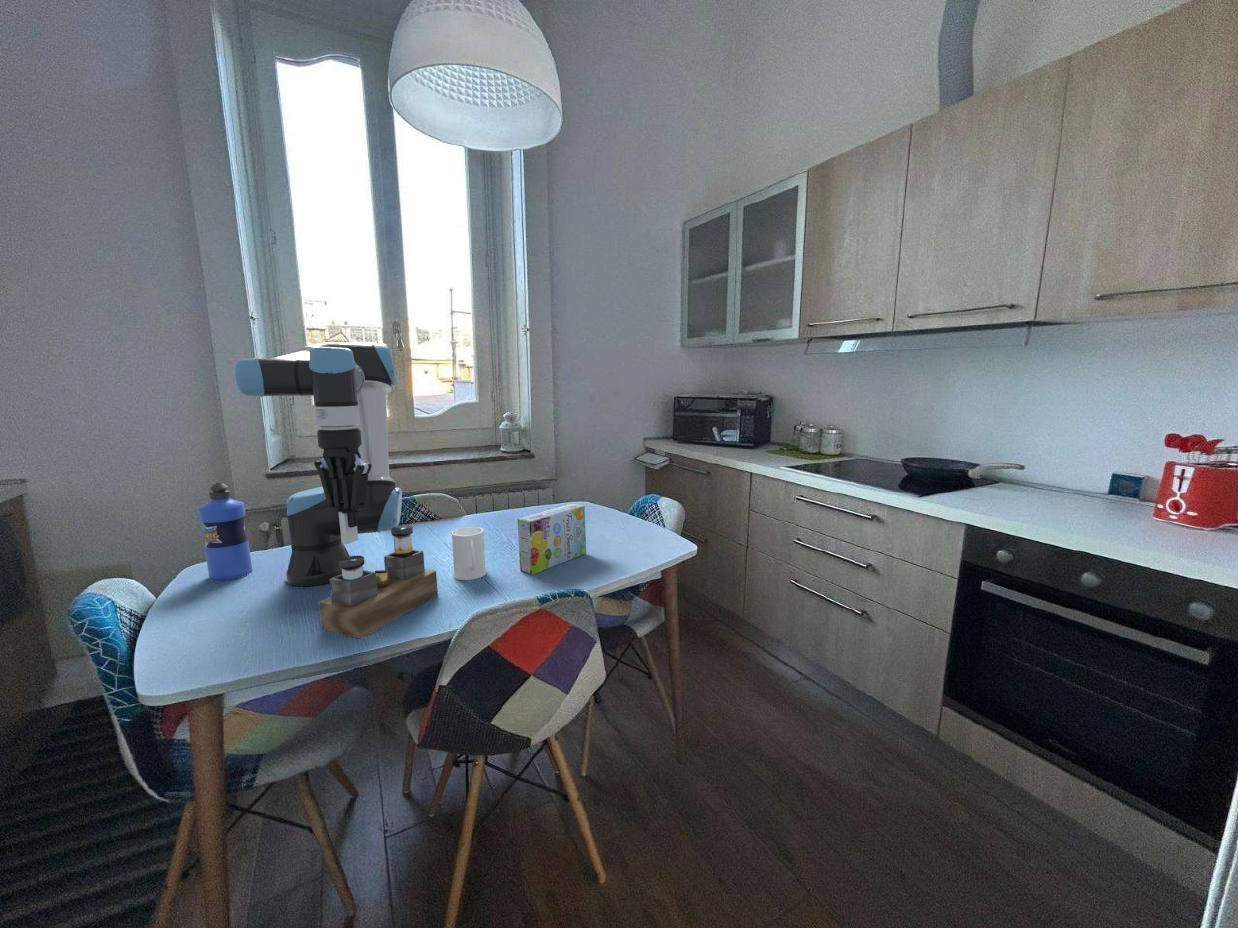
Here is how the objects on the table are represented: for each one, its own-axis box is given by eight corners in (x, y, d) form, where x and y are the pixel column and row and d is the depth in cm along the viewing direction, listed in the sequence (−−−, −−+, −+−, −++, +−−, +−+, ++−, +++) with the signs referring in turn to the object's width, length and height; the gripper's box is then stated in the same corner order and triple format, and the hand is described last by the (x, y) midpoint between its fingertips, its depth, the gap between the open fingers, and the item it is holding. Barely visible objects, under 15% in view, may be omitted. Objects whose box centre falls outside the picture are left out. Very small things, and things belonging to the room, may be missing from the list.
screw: (371, 588, 106) (370, 573, 106) (378, 582, 109) (377, 568, 109) (385, 588, 106) (384, 573, 106) (391, 582, 109) (390, 568, 109)
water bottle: (224, 583, 123) (210, 488, 119) (199, 578, 126) (185, 485, 122) (261, 570, 132) (249, 481, 128) (237, 566, 135) (225, 478, 131)
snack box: (573, 550, 148) (572, 502, 146) (586, 554, 145) (586, 505, 142) (518, 570, 132) (516, 517, 130) (532, 575, 128) (530, 521, 126)
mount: (321, 629, 100) (316, 579, 99) (402, 587, 121) (398, 545, 119) (361, 638, 97) (356, 586, 95) (437, 594, 117) (434, 550, 115)
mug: (489, 582, 124) (487, 537, 122) (454, 587, 121) (451, 541, 119) (485, 566, 135) (483, 525, 133) (452, 570, 132) (450, 528, 130)
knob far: (389, 561, 112) (386, 529, 111) (404, 554, 117) (401, 524, 115) (404, 563, 111) (402, 532, 110) (419, 557, 115) (417, 526, 114)
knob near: (336, 596, 100) (333, 561, 99) (355, 588, 104) (352, 554, 103) (353, 600, 98) (350, 564, 97) (372, 591, 102) (369, 557, 101)
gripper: (297, 428, 94) (310, 543, 98) (347, 430, 90) (358, 551, 94) (331, 424, 101) (342, 532, 105) (379, 427, 97) (388, 539, 101)
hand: (350, 541), depth 100 cm, fingers closed
